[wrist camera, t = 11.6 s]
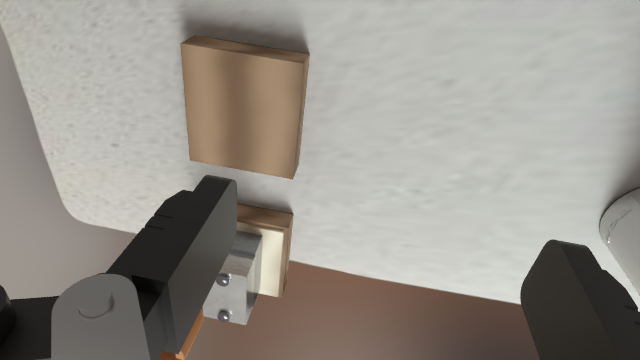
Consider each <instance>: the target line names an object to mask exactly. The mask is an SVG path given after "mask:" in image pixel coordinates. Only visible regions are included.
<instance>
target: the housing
mask: <svg viewBox="0 0 640 360" xmlns="http://www.w3.org/2000/svg"><path fill="white" fill-rule="evenodd" d="M262 242H263V235H258V234H253V233H248V232H243V231H238V230H236V236H235V240H234V243H233V246H232V248H231V250H230V252H229V254H228V256H227V258H226V260H225V262H224V264H223V266H222V268H221V270H220V272H219V274H218V276H217V278H216V280H215V282H214V284H213V286H212V288H211V290H210V292H209V294H208V296H207V298H206V300H205V302H204V304H203V315H204V316H205V317H210V318H214V319H219V320H220V321H222V322H228V321H229V322H234V323H238V324H243V325H246V323H247V320H248V318H249V315H250V312H251V309H252V307H253V306H254V304H255V301H256V298H257V295H258V293H259V290H260V282H261V262H262Z"/></svg>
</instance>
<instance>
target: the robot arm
mask: <svg viewBox="0 0 640 360" xmlns="http://www.w3.org/2000/svg"><path fill="white" fill-rule="evenodd" d="M599 228H600V235H601V237H602V240H603V241H604V243H605V244H606V246H607V247H608V249H609V250H610V252H611V253H612V255H613V256H614V258H615V259H616V261H617V262H618V264H619V265H620V267H621V269H622V270H623V271H624V273H625V274H626V276H627V277H628V279H629V280H630V282H631V283H632V285H633V286H634V288H635V289H636V291H637V292H638V294H639V295H640V188H639V189H636V190H634V191H632V192H629V193H627V194H626V195H624V196H622V197H621V198H619V199H618V200H617V201H615V202H614V203H613V204H612V205H611V206H610V207H609V208H608V209H607V211H606V212H605V213H604V215H603V217H602V219H601V222H600V227H599ZM236 230H237V184H236V181H235V180H232V179H227V178H221V177H216V176H210V175H206V176H204V178H203V179H202V180H201V182H200V183H199V184H198V186H197V187H196V188H195V190H194V191H193V192H191V191H186V190H182V191H180V192H179V193H177V194H175V195H174V196H172V197H170V198H168V199H167V200H165V202H164V203H163V204H162V205H161V206H160V208H159V209H158V210H157V211H156V212H155V214H154V217H153V216H152V217H151V218H150V220H149V221H148V222H147V223H146V225H145V228H142V229H141V231H140V232H139V233H138V234H137V236H136V237H135V238H134V239H133V240H132V242H131V243H130V244H129V245H128V246H127V248H126V249H125V250H124V251H123V253H122V254H121V255H120V256H119V257H118V259H117V260H116V261H115V262H114V263H113V265H112V266H111V267H110V268H109V269H108V271H107V272H106V273H105V274H100V275H95V276H92V277H88V278H85V279H83V280H80V281H79V282H77V283H75V284H73V285H72V286H70V287H69V288H68V289H66V290H65V291H64V292H63V293H62V294H61V295H60V296H54V297H41V298H29V299H13V300H10V299H9V298H8V295H7V293H6V291H5V290H4V288H3V287H2V286H1V285H0V360H158V359H159V357H160V355H161V354H162V352H163V351H164V352H169V353H174V354H178V355H179V352H180V350H181V348H182V346H183V344H184V342H185V340H186V338H187V336H188V334H189V332H190V330H191V328H192V326H193V324H194V322H195V320H196V318H197V316H198V314H199V312H200V310H201V308H202V306H203V304H204V302H205V300H206V298H207V296H208V294H209V292H210V290H211V288H212V286H213V284H214V282H215V280H216V278H217V276H218V274H219V272H220V270H221V268H222V266H223V264H224V262H225V260H226V258H227V256H228V254H229V252H230V250H231V248H232V246H233V243H234V240H235V236H236ZM520 298H521V305H522V308H523V311H524V314H525V317H526V320H527V323H528V326H529V329H530V332H531V335H532V337H533V340H534V343H535V346H536V349H537V352H538V355H539V358H540V360H640V312H638V307H637V305H636V304H635V302H634V301H633V299H632V298H631V296H630V295H629V293H628V291H627V290H626V288H624V287H623V286H622V285H621V284H620V283H619V282H618V281H617V280H616V279H615V278H614V277H613V276H612V275H611V274H609V273H608V272H607V271H606V270H602V269H601V267H600V265H599V264H598V262H597V260H596V259H595V257H594V255H593V254H592V252H591V251H590V249H589V248H588V247H587V246H585V245H580V244H574V243H569V242H563V241H558V240H550V241H548V242H547V243H546V244H545V245H544V247H543V249H542V250H541V252H540V254H539V256H538V257H537V259H536V261H535V262H534V264H533V266H532V267H531V269H530V271H529V273H528V274H527V276H526V278H525V279H524V281H523V284H522V287H521V297H520Z"/></svg>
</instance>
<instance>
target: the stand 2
mask: <svg viewBox="0 0 640 360" xmlns="http://www.w3.org/2000/svg"><path fill="white" fill-rule="evenodd" d="M292 224H293V214H289V213H284V212H279V211H273V210H268V209H263V208H258V207H252V206H247V205H242V204H237V230H238V231H243V232H248V233H253V234H258V235H263V242H262V262H261V282H260V290H259V293H260V294H265V295H270V296H275V297H280V298H282V296H283V293H284V290H285V286H286V283H287V273H288V264H289V254H290V244H291V234H292Z"/></svg>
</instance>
